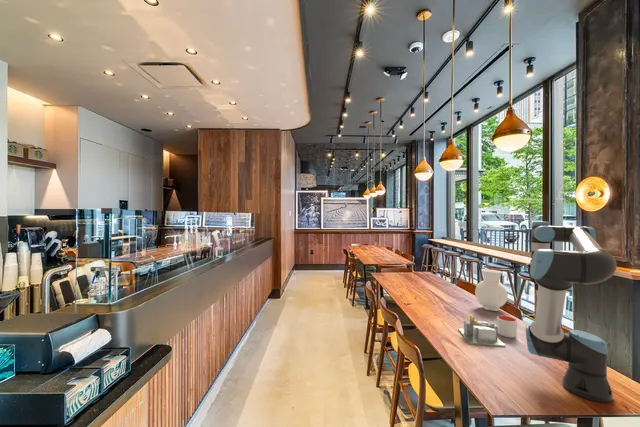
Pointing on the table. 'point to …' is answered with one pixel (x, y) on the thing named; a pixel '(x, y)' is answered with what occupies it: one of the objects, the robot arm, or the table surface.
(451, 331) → the table surface
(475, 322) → the clip
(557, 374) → the table surface
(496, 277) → the vase
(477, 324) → the strap
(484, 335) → the grey table caddy
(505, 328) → the cup
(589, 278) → the robot arm
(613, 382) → the table surface
